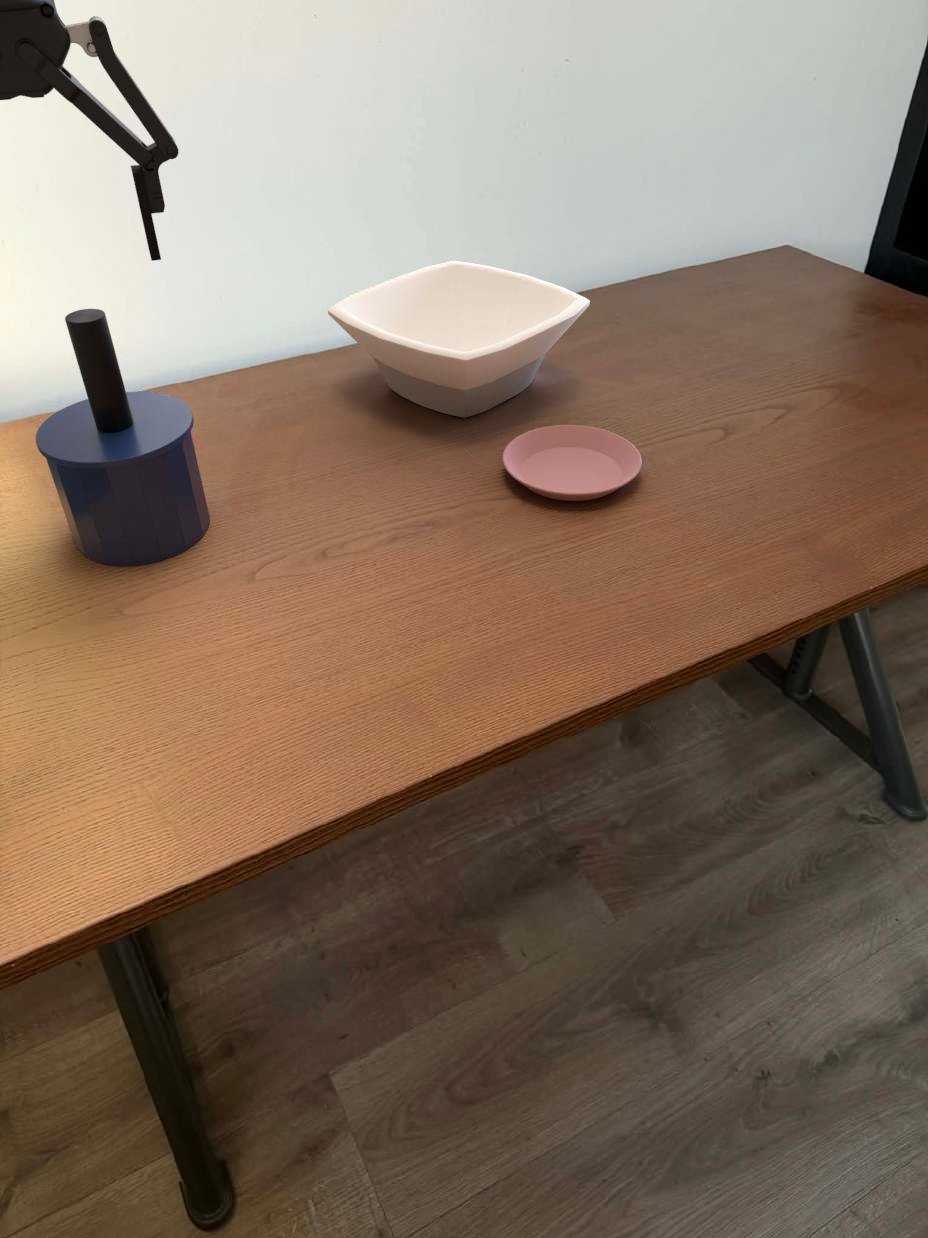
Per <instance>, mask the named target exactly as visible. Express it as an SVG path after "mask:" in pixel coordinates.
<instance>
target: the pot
mask: <svg viewBox="0 0 928 1238" xmlns="http://www.w3.org/2000/svg"><path fill="white" fill-rule="evenodd" d="M45 459H46V462H47V465H48V469H49V471H50V475H51V477H52V480H53V483H54V486H55V489H56V492H57V496H58V498H59V502H60V504H61V507H62V510H63V513H64V515H65V519H66V522H67V524H68V528H69V530H70V533H71V536H72V540H73V543H74V544H75V546H76V547H77V549H78V551H79V552H80V553H81V554H82V555H83V556H84V557H85V558H87V559H89V560H91V561H93V562H95V563H97V564H102V565H107V566H112V567H113V566H114V567H135V566H143V565H149V564H152V563H159V562H160V561H164V560H167V559H170V558H173V557H175V556H177V555H179V554H181V553H183V552H185V551H187V550H188V549H191V548H192V547H193V546H194V545H196V544H197V543H198V542H199V541H200V540H201V539H202V538H203V537H204V535H205V534H206V532H207V531H208V529H209V526H210V521H211V519H210V512H209V508H208V504H207V500H206V495H205V490H204V486H203V480H202V476H201V473H200V468H199V463H198V459H197V453H196V450H195V446H194V439H193V436H192V431H191V432H190V433H189V434H188V436H187V437H186V438H185V439H184V440H183V441H182V442H180V443H179V444H178V445H176V446H175V447H173V448H172V449H170V450H168V451H166V452H164V453H162V454H160V455H158V456H155V457H153V458H150V459H147V460H144V461H141V462H137V463H133V464H128V465H123V466H117V467H110V468H93V469H87V468H75V467H68V466H64V465H60V464H57V463H54V462H52V461H50V460H48V459H47V458H45Z"/></svg>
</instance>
